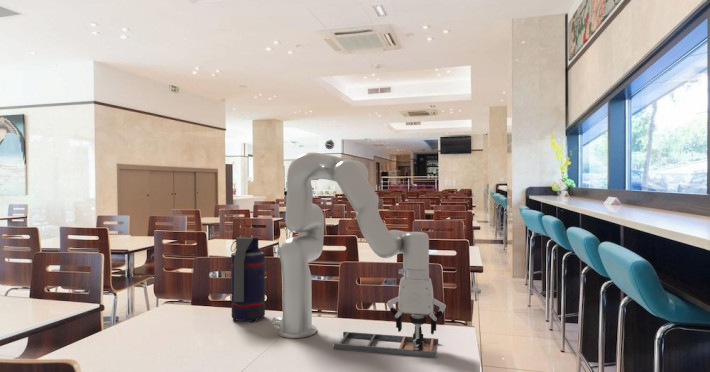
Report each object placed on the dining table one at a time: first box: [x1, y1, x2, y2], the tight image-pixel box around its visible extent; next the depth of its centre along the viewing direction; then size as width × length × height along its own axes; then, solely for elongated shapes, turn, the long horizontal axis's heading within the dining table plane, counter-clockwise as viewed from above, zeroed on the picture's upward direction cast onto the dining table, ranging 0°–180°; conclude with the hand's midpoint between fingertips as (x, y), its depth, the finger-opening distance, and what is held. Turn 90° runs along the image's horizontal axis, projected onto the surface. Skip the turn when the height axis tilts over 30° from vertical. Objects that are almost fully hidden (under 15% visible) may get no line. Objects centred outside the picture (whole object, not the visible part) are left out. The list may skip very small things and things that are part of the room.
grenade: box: [230, 236, 266, 324], centre depth 159 cm, size 14×12×30 cm
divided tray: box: [333, 331, 439, 359], centre depth 131 cm, size 30×11×2 cm, turn 76°
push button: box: [408, 314, 428, 350], centre depth 129 cm, size 7×5×10 cm
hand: (416, 331), depth 129 cm, fingers open, 9 cm apart
